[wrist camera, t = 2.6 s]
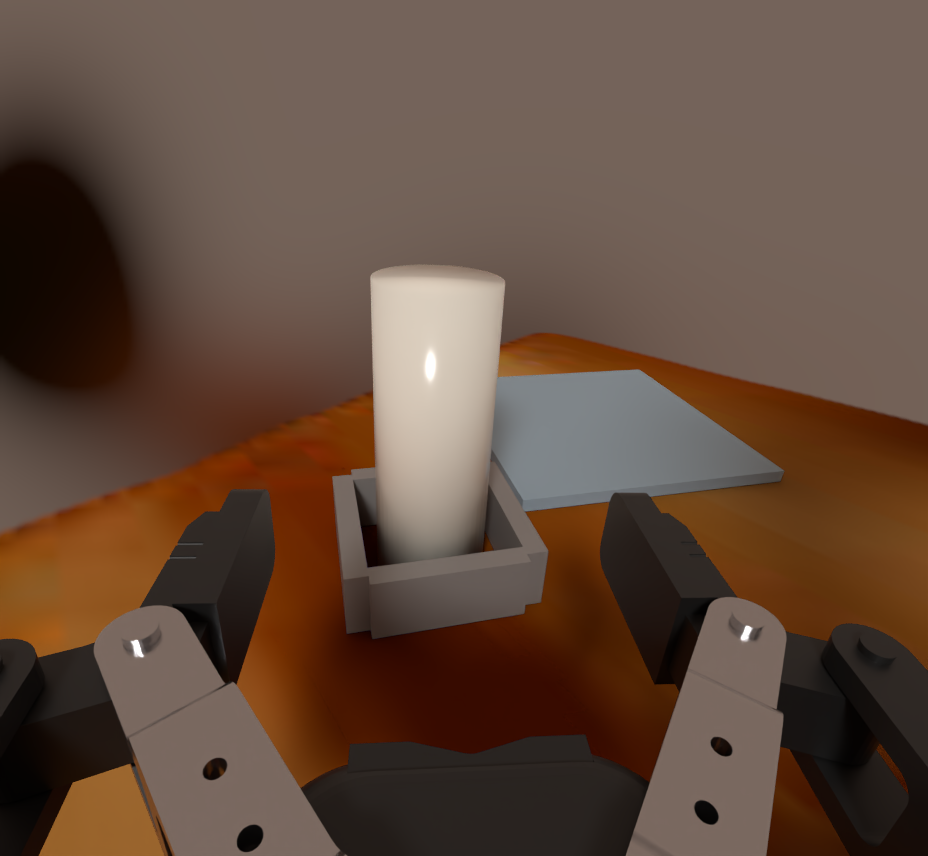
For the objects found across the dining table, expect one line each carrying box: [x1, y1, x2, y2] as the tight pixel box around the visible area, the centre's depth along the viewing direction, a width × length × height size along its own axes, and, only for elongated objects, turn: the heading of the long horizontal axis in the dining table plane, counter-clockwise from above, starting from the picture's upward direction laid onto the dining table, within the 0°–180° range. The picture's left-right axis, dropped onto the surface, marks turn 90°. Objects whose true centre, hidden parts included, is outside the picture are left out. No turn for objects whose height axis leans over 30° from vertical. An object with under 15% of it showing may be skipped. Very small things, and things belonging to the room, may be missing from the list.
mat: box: [491, 370, 784, 511], centre depth 42 cm, size 18×18×1 cm
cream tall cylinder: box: [371, 265, 505, 566], centre depth 25 cm, size 5×5×14 cm
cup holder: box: [333, 461, 548, 639], centre depth 27 cm, size 9×9×3 cm
